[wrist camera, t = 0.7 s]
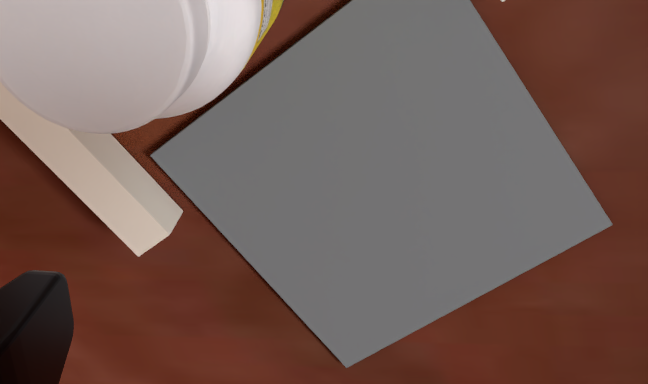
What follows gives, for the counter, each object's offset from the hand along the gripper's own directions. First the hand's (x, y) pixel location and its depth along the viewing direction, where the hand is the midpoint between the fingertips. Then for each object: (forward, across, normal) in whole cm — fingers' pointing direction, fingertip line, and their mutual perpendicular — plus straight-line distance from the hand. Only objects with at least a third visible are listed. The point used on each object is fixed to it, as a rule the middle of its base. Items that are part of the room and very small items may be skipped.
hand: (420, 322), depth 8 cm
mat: (+13, -2, +6) cm, 15 cm away
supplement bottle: (+15, +5, -1) cm, 16 cm away
